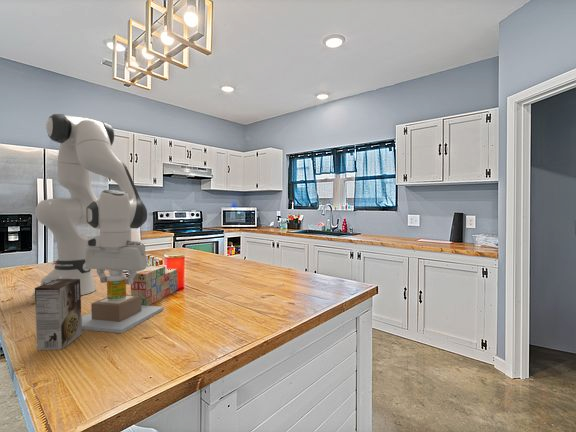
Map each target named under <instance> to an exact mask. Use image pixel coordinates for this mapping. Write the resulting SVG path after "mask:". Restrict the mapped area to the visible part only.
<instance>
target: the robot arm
mask: <svg viewBox="0 0 576 432" xmlns="http://www.w3.org/2000/svg"><path fill="white" fill-rule="evenodd" d="M45 129H46V133H47V137H48V138H49V139H50V140H51V141H53V142H55V143H59V144H60V145H59V149H58V153H57V156H58V157H57V177H56V179H57V182H58V184H59V185H60V186H61V187H63V189H64V188H65V189H66V190H68V191H67V192H69V194H70V198H69V197H67V198H66V197H63V198H61V197H60V198H59V197H58V198H57V197H54V198H48V199H43V200H41V201H39V202H38V204H37V205H36V207H35V210H34V213H35V214H34V215H35V218H36V220H37V221H38V222H39V223H40V224H41V225H42V226H45V227H46V228H48V229H49V230H50V232H51V233H52V234H53V236H54V238H55V243H56V248H57V250H56V251H57V260H54V261H53V262H52V265H54V267H53V268H54V269H53V270H51V271H50V272H49V273H48V274H46V275H45V276H44V277H42V278H41V281H40V285H39V286H41V285H43V284H46V283H49V282H51V281H54V280H56V279H80V292H81V296H83V295H88V294H91V293H93V292H95V291H96V290H97V289H96V285H95V282H94V276H93V270H96V273H97V275H98V277H99V282H100V283H102V284H105V283H106V284H107V278H108V277H109V276H107V275H106V273H105V272H106V270H123V271H127V272H128V277H127V278H126V285H130V286H131V284H133V278H134V277H135V275H136V273H137V271H141V270H144V269H145V268H147V267H148V261H147V253H146V245H145V244H144V243H143V242H141V241H140V240H139V241H138V240H137V241H134V240H132V229H139V228H141V227H143V225H144V224H145V223H146V222H147V220H148V211H147V210H148V209H147V207H146V206H145V203H144V202H143V200H142V199H141V197H140V195H139V193H138V190H137V188H136V185H135V183H134V181H133V178H132V176H131V173H130V171H129V169H128V167H127V166H126V163H125V162H123V161H121V160H120V159H119V158H118V157H117V155H116V153H114V151H113V148H112V146H113V143H114V141H115V130H114V128H113V126H111V124H109V123H106V122H104V121H99V120H95V119H91V118H88V117H80V116H76V115H75V116H73V115H66V114H63V113H53V114H52V115H50V116H49V117H48V120H47V121H46V124H45ZM91 173H93V174H95V175H99V176H102V177H104V178H108V179H110V180H111V181H113V182H115V183H116V184H117V185H118V187H119V190H118V189H104V190H102V191H101V192H100V195H99V197H97V196H96V194H95V192H94V190H93V187H92V182H91V181H92V179H91ZM79 225H82V226H83V225H89V226H90V227H92V228H94V229H98V230H99V235H97V236H94V237H92V238H89V237H87V236H86V234H83V233H80V231H79V230H78V228H77V227H78V226H79ZM32 296H35V291H33V292H32Z"/></svg>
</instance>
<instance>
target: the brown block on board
mask: <svg viewBox="0 0 576 432" xmlns="http://www.w3.org/2000/svg"><path fill="white" fill-rule="evenodd" d="M90 306H91V307H90V308H91V312H89V313H87V314H84V315H83V316H82V315H81V319H82V330H85V331H86V330H88V331H95V332H97V331H98V332H107V333H115V334H117V333H118V334H124V333H126V332H127V331H129V330H130V329H132V328H134V327H136V326H138V325H140V324H141V323H142V322H144V321H146V320H149V318H151V317H153V316H155V315H157V314H159V313H160V312H162V311H164V308H165V307H164V306H155V305H149V306H145V305H141V296H133V295H131V294H129V295H128V294H126V298H125V299H123V300H119V301H109V300H108V299H107V297H104V298H102V299H100V300H97V301H94V302H91V304H90Z"/></svg>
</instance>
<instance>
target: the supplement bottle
mask: <svg viewBox="0 0 576 432" xmlns="http://www.w3.org/2000/svg"><path fill="white" fill-rule="evenodd" d="M124 271H125V270H109V271H108V273H109V275H108V276H107V277H108V278H107V282H106V294H107V296H106V298H107V299H108V300H109V301H119V300H123V299H125V298H126V295H127V284H126V279H127V276H126V275H125V274H124Z"/></svg>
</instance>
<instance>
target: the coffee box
mask: <svg viewBox="0 0 576 432" xmlns="http://www.w3.org/2000/svg"><path fill="white" fill-rule="evenodd" d="M34 292H35V295H34V301H35V302H34V303H35V304H34V305H35V307H34V308H35V330H36V331H35V333H36V335H35V336H36V350H37V351H43V350H44V351H47V350H51V351H54V350H55V351H56V350H63V349H64V348H65V347H67V346H69V345H70V344H71V343H72V342H74V341H75V340H76V339H77V338H79V337H80V336H82V335H83V329H82V319H81V317H82V298H81V296H82V295H81V292H80V279H56V280H54V281H51V282H49V283H46V284H43V285H41V286H40V285H38V286H37V287H34Z"/></svg>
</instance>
